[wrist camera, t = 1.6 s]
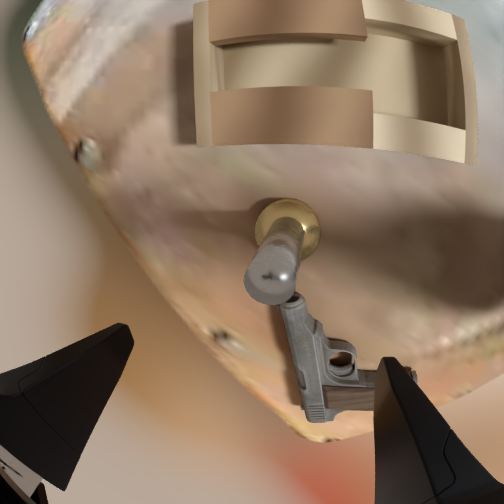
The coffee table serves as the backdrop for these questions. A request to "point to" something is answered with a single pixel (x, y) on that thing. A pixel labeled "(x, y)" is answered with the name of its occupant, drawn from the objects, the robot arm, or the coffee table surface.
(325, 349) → the handgun
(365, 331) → the coffee table surface
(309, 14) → the keyhole board
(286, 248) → the peg
